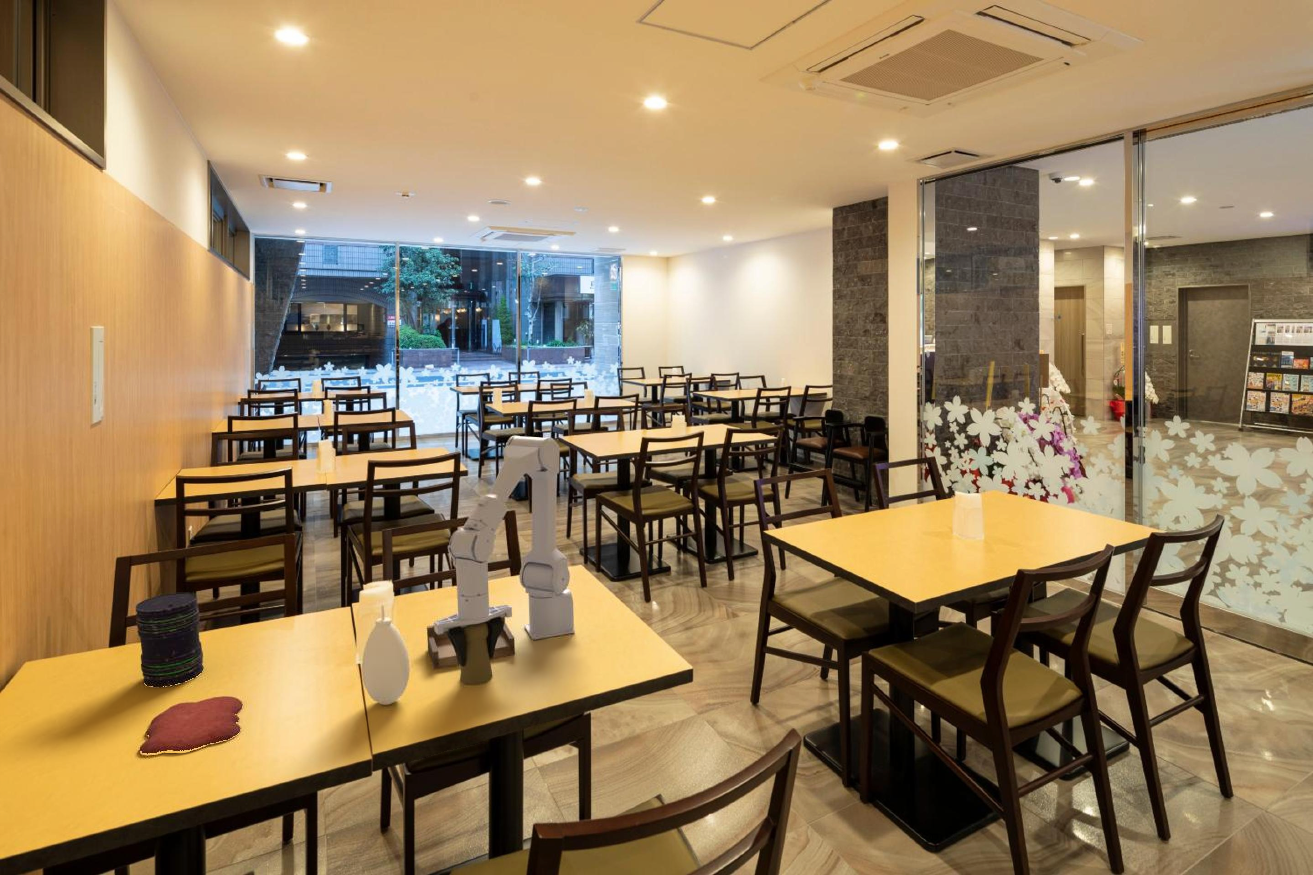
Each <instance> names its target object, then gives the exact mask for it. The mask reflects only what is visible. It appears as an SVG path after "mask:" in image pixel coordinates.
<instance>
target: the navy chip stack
mask: <svg viewBox="0 0 1313 875" xmlns="http://www.w3.org/2000/svg"><path fill="white" fill-rule="evenodd" d="M197 601H198V595H196V594H195V593H192V592H174V593H168V594H165V593H164V594H161V595H156V596H153V597H150V598H146V599H144V600H142V601H140V602H139V603H137V604H136V605H135V612H136V616H135V617H136V620H135V621H136V628H137V631H136V632H137V634H138V637H139V638H140V649H141V655H140V669H141V670H140V671H141V672H142V677H143V679H142V682H144V683H145V684H146V685H147V686H153V687H163V686H164V688H166V687H165V686H170V685H175V684H178V683H183V682H185V681H188V680H190V679H192V678H195V677H196V676H198V675H199V674H200V673H202V671H203V669H204V665H203V663H204V651H203V648H202V642H201V641H200V632H199V630H200V629H199V626H200V620H201V619H200V617H199V616H200V610H199V605H198V602H197ZM204 670H205V669H204ZM203 672H204V671H203ZM202 674H203V673H202ZM198 677H199V676H198ZM195 679H196V678H195ZM188 682H189V681H188ZM144 683H143V684H144ZM183 684H184V683H183ZM147 686H146V687H147ZM175 686H176V685H175Z"/></svg>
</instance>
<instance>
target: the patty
mask: <svg viewBox="0 0 1313 875" xmlns="http://www.w3.org/2000/svg"><path fill="white" fill-rule="evenodd" d="M242 703H243V701H242V700H240V699H239V698H237V697H234V696H229V695H228V696H226V695H225V696H217V697H216V696H214V697H210V698H207V699H204V700H203V699H202V700H199V701H195V702H193V701H191V702H181V703H180V702H179V703H177V704H174V705H172V706H170V707H168V708H167V709H166V710H164V711H162V712H160V713H159V714H157V715H156V716H155V717H153V719H152V720H151V722H150V725H151V726H149V727H148V728H147V730H146V732H145V735H146V734H147V735H149V738H148V739H147V740H145V741H144V742H143V743H142V744H141V745H140V747H139V748H140V751H142V753H147V754H148V753H157V752H159V751H160V752H161V751H167V750H173V751H180V750H181V751H182V750H183V751H184V750H190V749H191V750H192V749H194V748H198V747H201V746H203V745H207V744H210V743H216V742H219V741H223V740H228V739H230V738H232V737H233V736H235V735H237V734H238V733H239V732H240V733H241V731H240V729H241V730H242V728H241V726H240V725H239V724H238V723H239V721H240V717H239V716H238V714H239V713H240V712H241V711H242V710H241V709H243V708H242V706H243V705H244V703H243V704H242ZM243 707H244V706H243ZM240 710H241V711H240ZM239 711H240V712H239ZM238 712H239V713H238ZM237 713H238V714H237ZM235 714H237V715H235ZM238 720H239V721H238ZM236 722H238V723H237V724H236ZM240 733H239V734H240ZM237 736H238V735H237Z"/></svg>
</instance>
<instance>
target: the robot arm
mask: <svg viewBox="0 0 1313 875" xmlns="http://www.w3.org/2000/svg"><path fill="white" fill-rule="evenodd" d="M502 452H503V453H502V454H503V455H502V456H503V462H502V466H501V468H500V469H499V472H498V474H497V477H496V479H495V481H494V483H493V485H492V487H491V489H490V491H489V494H486V495H483V496H481V497H479V499H478V500H477V503H476V505H475V506H474V508H473V510H472V512H471V513H470V514H469V516H468V518H467V520H466V521H465V523H464V525H463V526H462V527H461V528H459V529H457V530H455V531H454V532H453V533H452V535H451V537H450V539H449V544H448V545H447V552H448V554H449V556H450V557H451V559H452V566H454V568H455V571H456V572H455V574H456V575H455V576H456V593H457V594H456V595H457V596H456V597H457V613H454V614H452V615H449V616H447V617H444V618H442V619H438V620H435V621H433V625H434V630H435V632H436V633H437V634H438V635H439V634H443V632H446V634H447V636H448V637H449V639H450V641H451V643H452V645H453V647H454V650H455V653H456V656H457V660H458V664H459V665H458V666H460V668H461V667H462V666H465V662H466V660H465V639H466V635H465V634H464V633H463V630H462V629H461V628H462V627H466V626H467V625H470V624H478V623H482V622H486V623H487V625H488V628H489V632H488V636H487V637H486V642H487V647H488V653H489V658H490V660H492V659H494V658H493V655H494V650H495V646H496V643H497V640H498V637H499V635H500V633H501V631H502V629H503V628H504V622H503V621H502V620H501V618H503V617H505V619H506V618H507V619H508V618H512V617H513V607H512V606H510V605H509V604H508V603H507V604H503V605H494V606H490V596H489V567H488V565H489V564H488V559H489V558H490V557H491V556H492V554H493V552H494V547H495V540H496V537H497V534H496V532H497V530H498V529H499V527H500V524H501V523H502V520H503V519H504V517H505V515H506V514H507V511H508V508H507V504H506V502H507V500H508V499H509V497H510V495H511V494H512V493H513V491H514V490H515V488H516V487H517V485H518V484H519V482H520V481H521V479H522V478H523V476H524V475H525V474H526V475H527V476H529V477H530V478H531V549H530V550H529V551H528V552H526V554H524V555H523V556H522V560H521V561H522V563H521V568H520V571H519V583H520V585H521V586H522V588H524V590H525V593H526V594H528V615H529V616H528V622H529V623H528V624H524V629H525V630H526V631H527V634H528V635H529V636H530V638H531V639H532V640H534V641H535V640H540V639H547V638H551V637H557V636H563V635H567V634H574V633H575V632H576V631H575V630H576V629H575V620H574V617H575V614H574V599H573V595H572V591H571V590H570V589H569V588H568V586H569V583H570V580H571V576H570V570H569V566H568V558H567V556H566V555H565V554H563V552H561V551H560V550H559V549H558V548H557V488H558V487H557V483H558V480H557V479H558V478H557V477H558V476H557V475H558V474H559V473H560V445H559V444H558V443H557V442H556V441H555V439H554V438H553V437H550V436H548V437H535V436H522V435H521V436H520V435H517V434H516V435H512V436H510V437H509V439H508V440H507V442H506V445H505V447H504V448H503V451H502Z"/></svg>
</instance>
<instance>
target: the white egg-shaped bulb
mask: <svg viewBox="0 0 1313 875" xmlns="http://www.w3.org/2000/svg"><path fill="white" fill-rule="evenodd" d="M374 623H375V626H374V627H373V629H371V631H370V633H369V635H368V637H367V640H366V643H365V647H364V650H363V653H362V654H363V655H362V661H361V662H362V664H361V666H362V667H361V668H362V669H361V673H362V674H361V675H362V681H363V686H364V688H365V690H366V691H367V694H368V696H369V697H370V698H371V699H372V700H373V701H375V702H377V703H378V704H379V705H385V706H386V705H387V706H388V705H391V704H393V703H395V702H396V701H398V699H399V698H401V697H402V696H403V694H404V693H405V691H406V689H407V686H408V683H409V678H410V672H411V668H410V667H411V665H410V658H409V652H408V648H407V646H406V644H405V641H404V638H403V636H402V634H401V633H400V631H399V630H398V628H397V627H396V626H395V625H394V624H393V623H392V619H391V618H390V617H385V609H384V605H382V604H381V617H380V618H377V619H376V620H375V622H374Z"/></svg>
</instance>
